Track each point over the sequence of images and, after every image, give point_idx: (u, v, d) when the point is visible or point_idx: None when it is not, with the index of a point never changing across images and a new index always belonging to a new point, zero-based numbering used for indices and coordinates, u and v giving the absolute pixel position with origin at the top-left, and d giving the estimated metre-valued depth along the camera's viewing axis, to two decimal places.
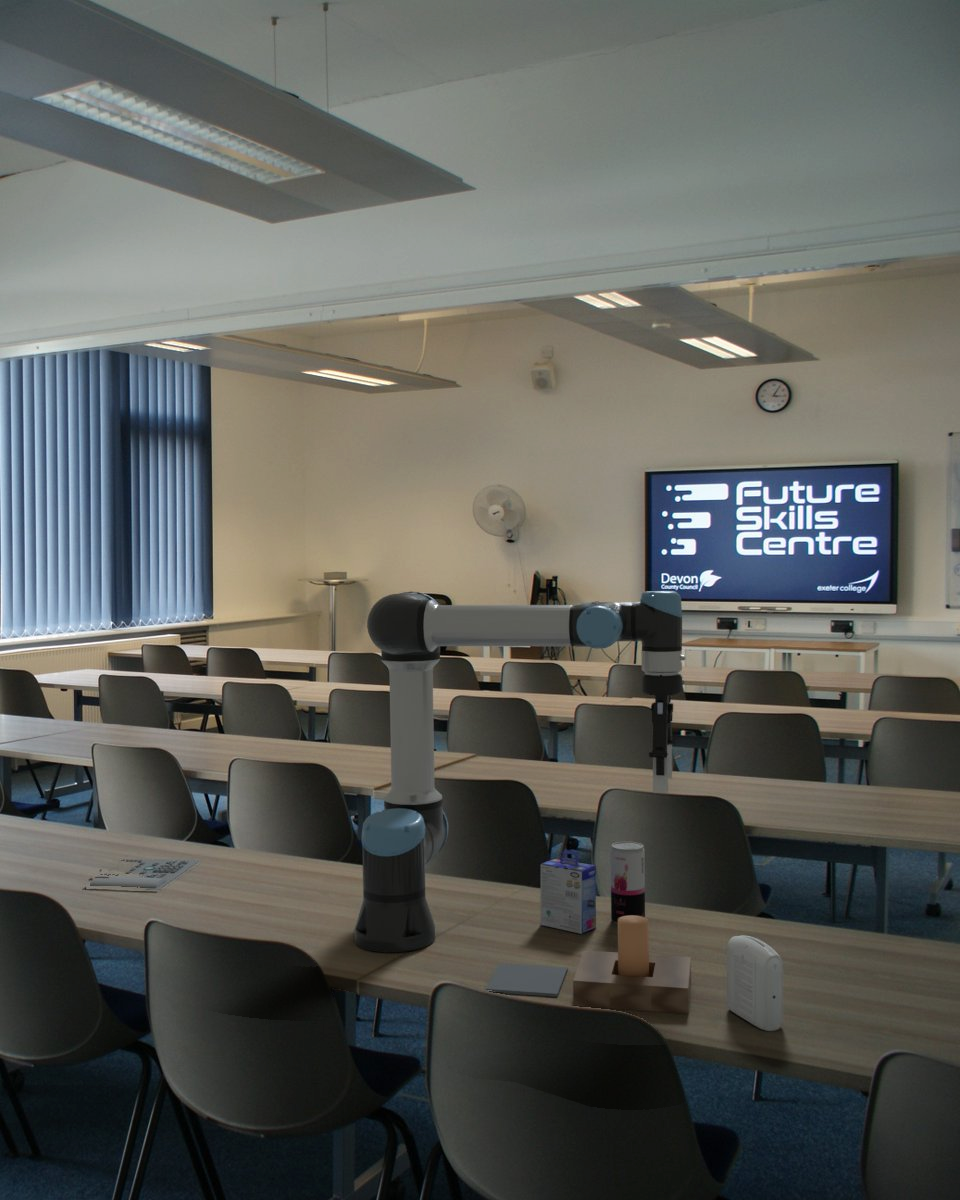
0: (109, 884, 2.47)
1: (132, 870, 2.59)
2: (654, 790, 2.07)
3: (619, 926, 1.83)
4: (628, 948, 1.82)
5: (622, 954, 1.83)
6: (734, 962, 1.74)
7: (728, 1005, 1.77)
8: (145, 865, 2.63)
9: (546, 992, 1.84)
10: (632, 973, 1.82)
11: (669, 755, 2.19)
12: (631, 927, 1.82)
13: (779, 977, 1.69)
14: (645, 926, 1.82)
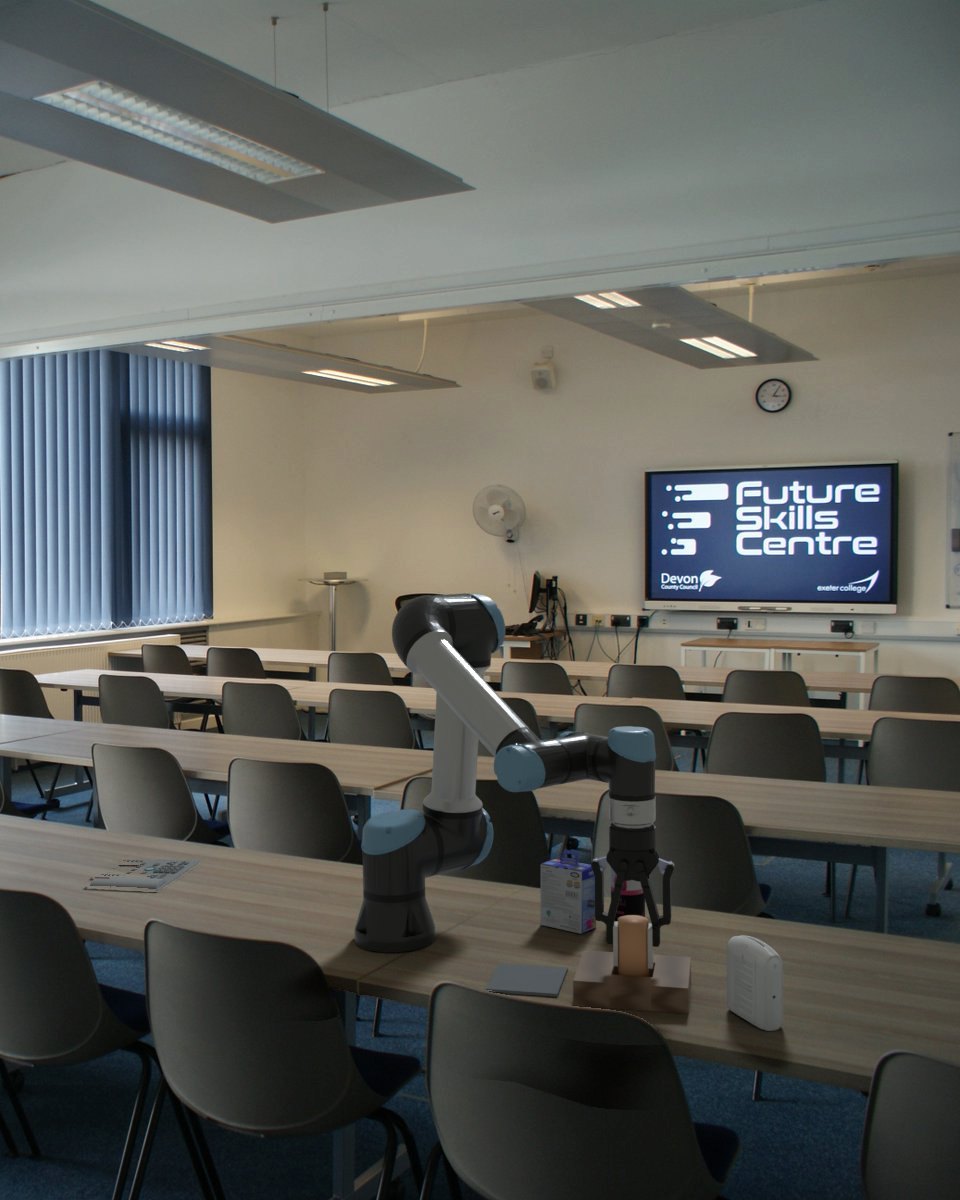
0: (109, 884, 2.47)
1: (133, 870, 2.59)
2: None
3: (619, 926, 1.83)
4: (628, 948, 1.82)
5: (622, 954, 1.83)
6: (734, 962, 1.75)
7: (728, 1005, 1.77)
8: (146, 865, 2.63)
9: (546, 992, 1.84)
10: (632, 973, 1.82)
11: None
12: (631, 926, 1.82)
13: (779, 977, 1.69)
14: (645, 926, 1.82)
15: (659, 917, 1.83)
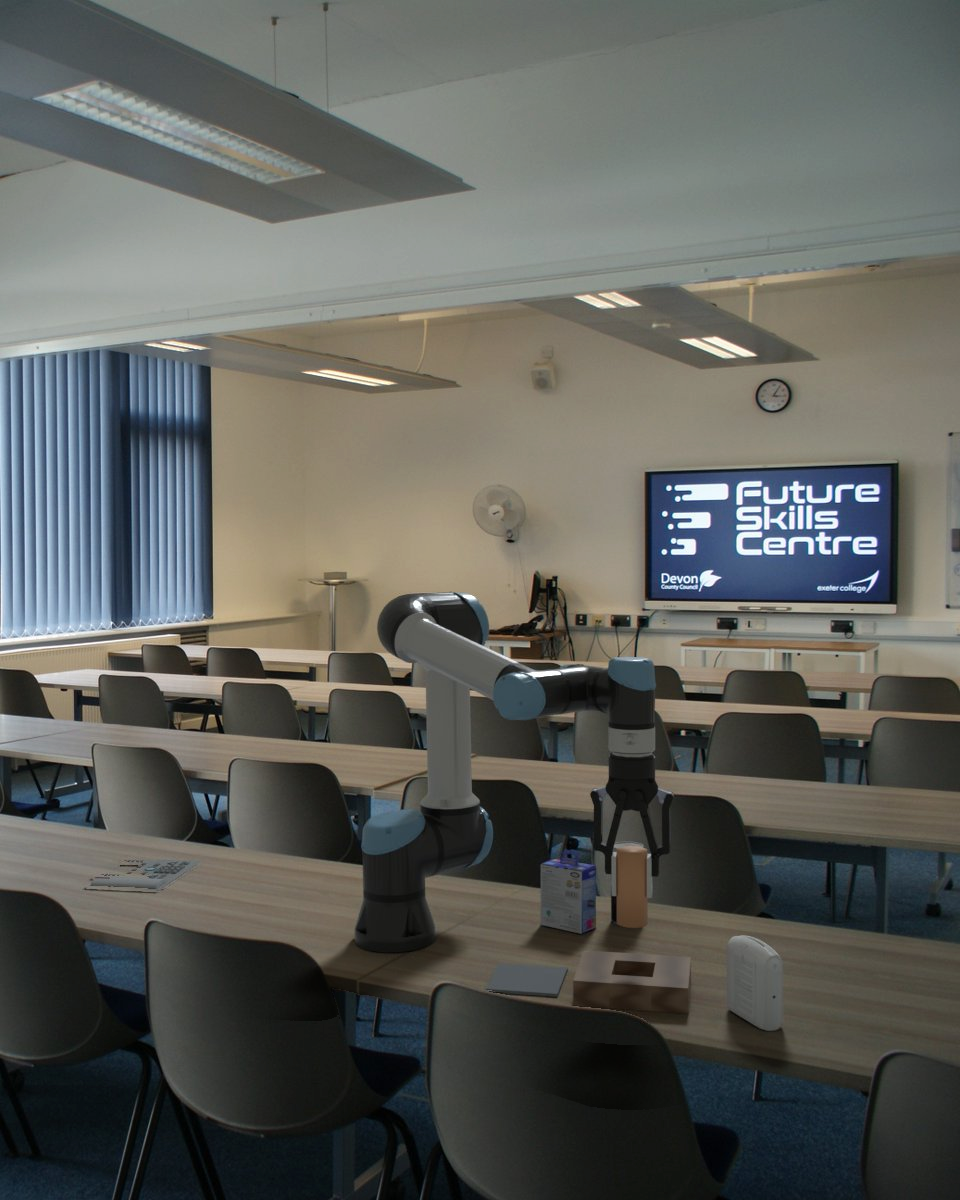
0: (109, 884, 2.47)
1: (133, 870, 2.59)
2: None
3: (618, 856, 1.83)
4: (627, 877, 1.82)
5: (621, 883, 1.83)
6: (734, 962, 1.75)
7: (728, 1005, 1.77)
8: (146, 866, 2.63)
9: (546, 992, 1.84)
10: (630, 903, 1.82)
11: None
12: (630, 856, 1.81)
13: (779, 977, 1.69)
14: (644, 856, 1.82)
15: (658, 847, 1.83)
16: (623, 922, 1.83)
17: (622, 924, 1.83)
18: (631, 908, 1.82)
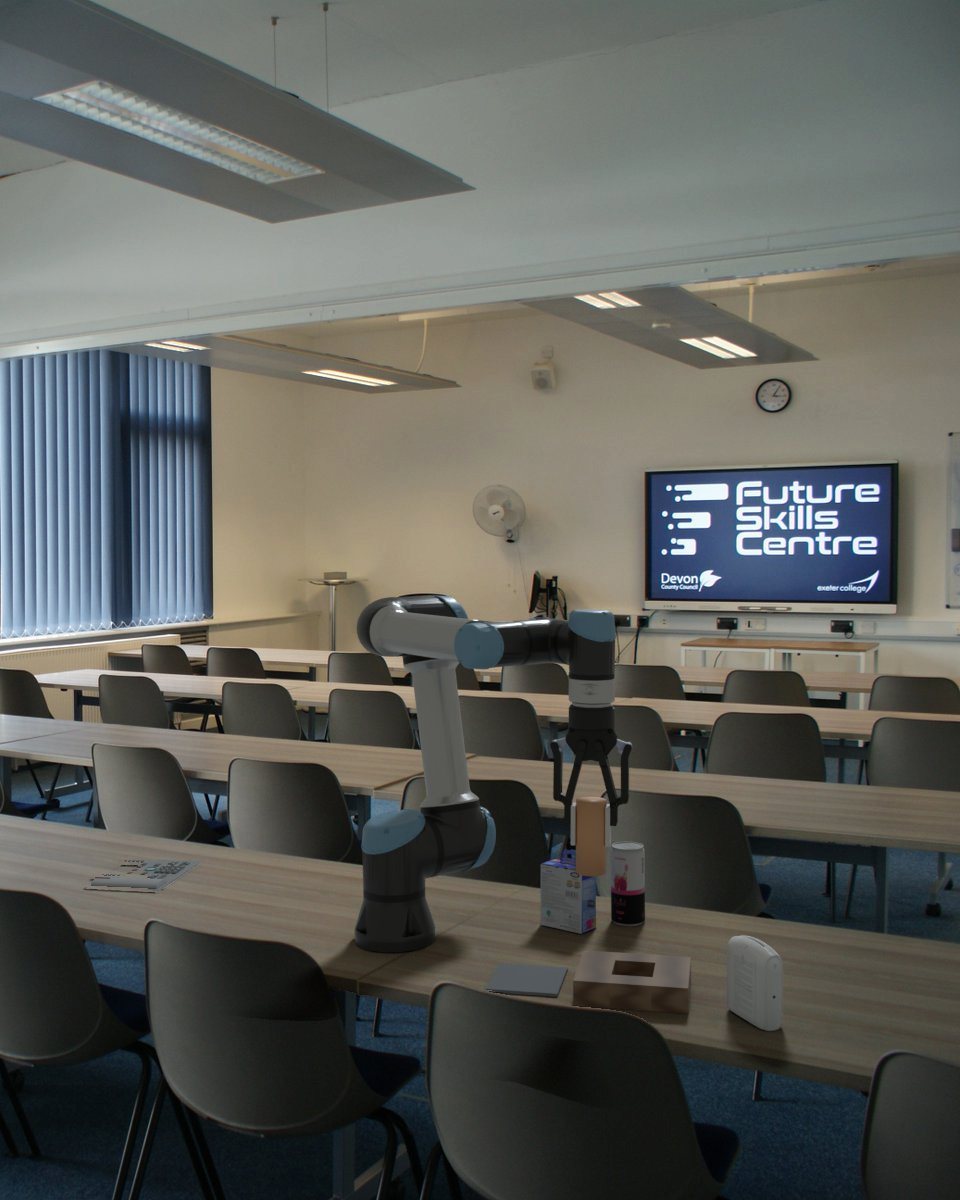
0: (109, 885, 2.47)
1: None
2: None
3: (577, 805, 1.85)
4: (586, 826, 1.84)
5: (580, 833, 1.85)
6: (734, 962, 1.74)
7: (728, 1005, 1.77)
8: (147, 866, 2.63)
9: (546, 992, 1.84)
10: (589, 851, 1.84)
11: (605, 819, 1.85)
12: (589, 805, 1.84)
13: (779, 977, 1.69)
14: (603, 805, 1.84)
15: (617, 797, 1.85)
16: (582, 871, 1.85)
17: (581, 873, 1.85)
18: (589, 856, 1.84)
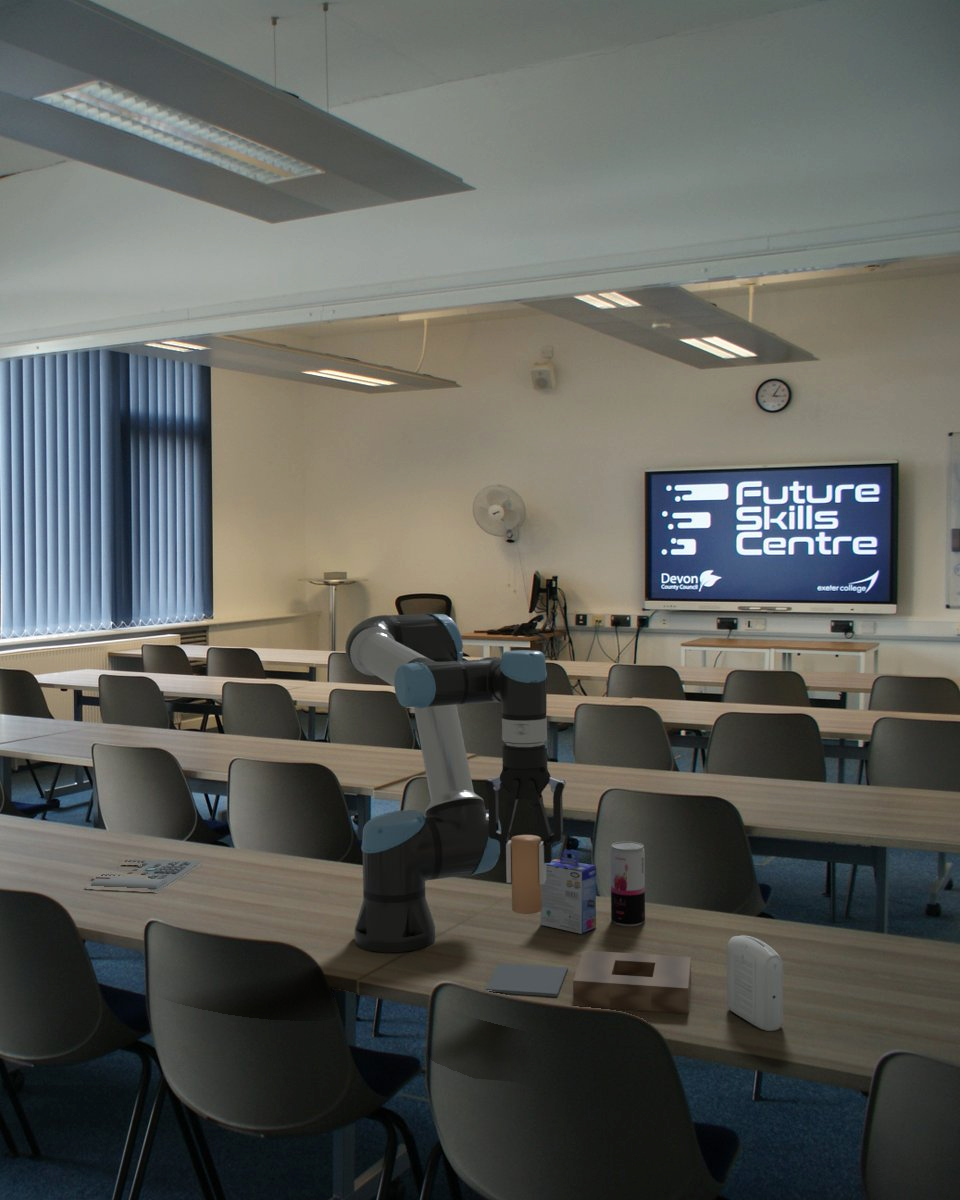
0: (110, 885, 2.47)
1: None
2: None
3: (512, 844, 1.89)
4: (520, 865, 1.87)
5: (515, 871, 1.88)
6: (734, 962, 1.75)
7: (728, 1005, 1.77)
8: (147, 866, 2.63)
9: (546, 992, 1.84)
10: (524, 889, 1.87)
11: None
12: (523, 844, 1.87)
13: (779, 977, 1.69)
14: (536, 843, 1.88)
15: (551, 834, 1.89)
16: (517, 908, 1.88)
17: (516, 910, 1.88)
18: (524, 894, 1.87)
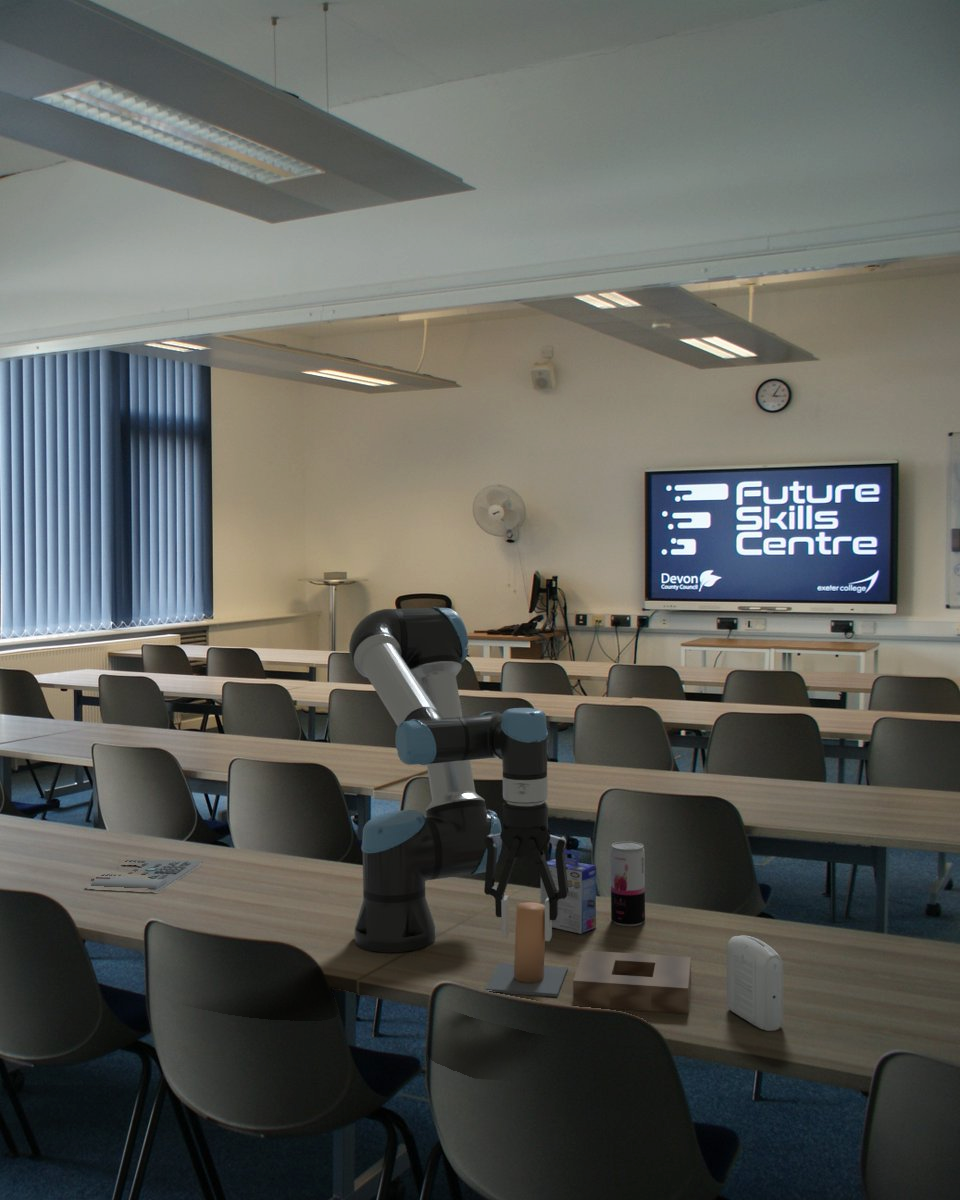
0: (110, 885, 2.47)
1: None
2: None
3: (517, 912, 1.89)
4: (524, 933, 1.88)
5: (518, 939, 1.89)
6: (734, 961, 1.74)
7: (728, 1005, 1.77)
8: (148, 866, 2.63)
9: (546, 992, 1.84)
10: (526, 958, 1.88)
11: None
12: (528, 913, 1.88)
13: (779, 977, 1.69)
14: (542, 913, 1.88)
15: (556, 891, 1.89)
16: (519, 976, 1.89)
17: (518, 978, 1.89)
18: (527, 963, 1.88)
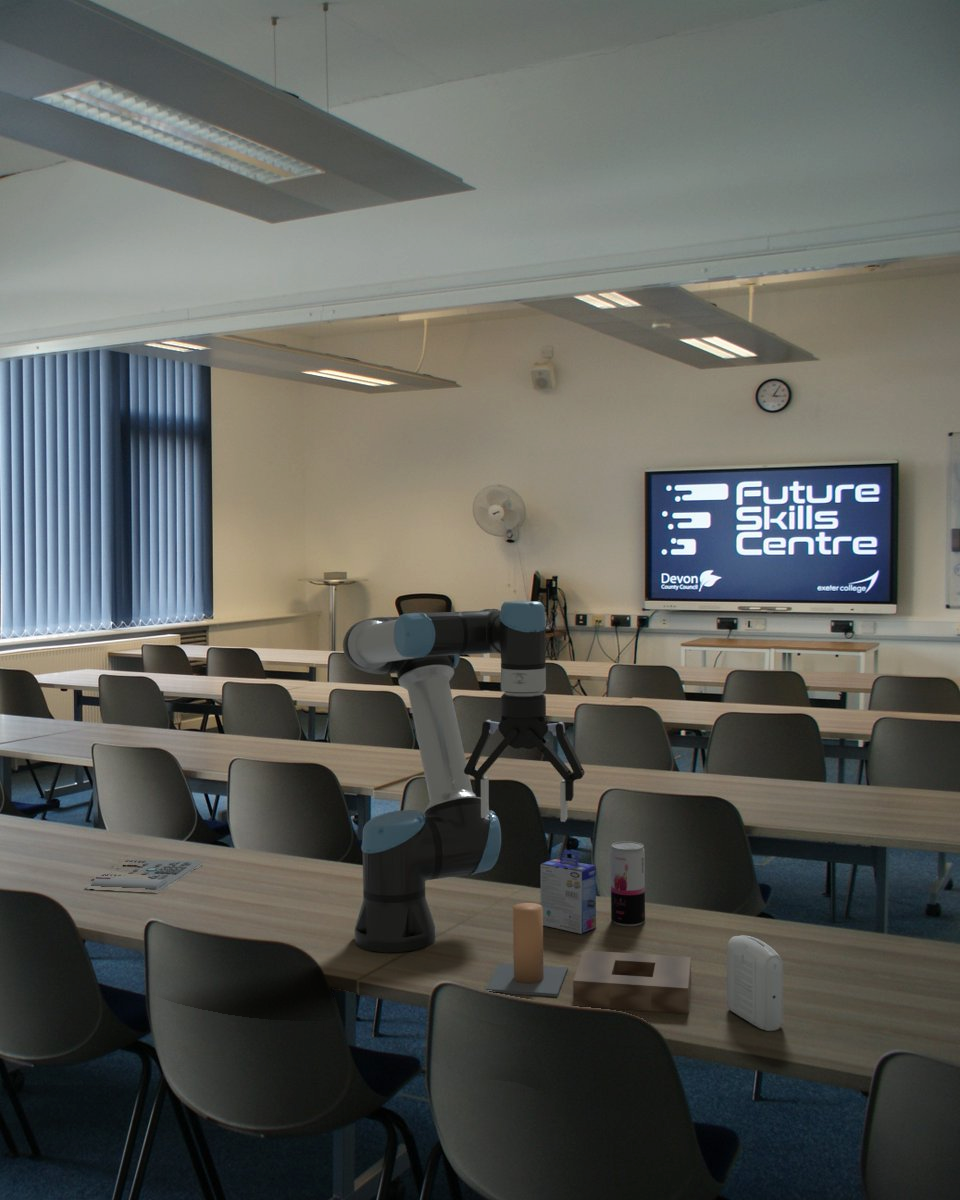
0: (110, 885, 2.47)
1: (135, 871, 2.58)
2: None
3: (513, 913, 1.89)
4: (522, 934, 1.88)
5: (516, 940, 1.89)
6: (734, 962, 1.75)
7: (728, 1005, 1.77)
8: (148, 866, 2.63)
9: (546, 992, 1.84)
10: (525, 959, 1.88)
11: None
12: (524, 913, 1.88)
13: (779, 977, 1.69)
14: (538, 913, 1.88)
15: (572, 772, 1.89)
16: (519, 977, 1.89)
17: (518, 979, 1.89)
18: (525, 964, 1.88)
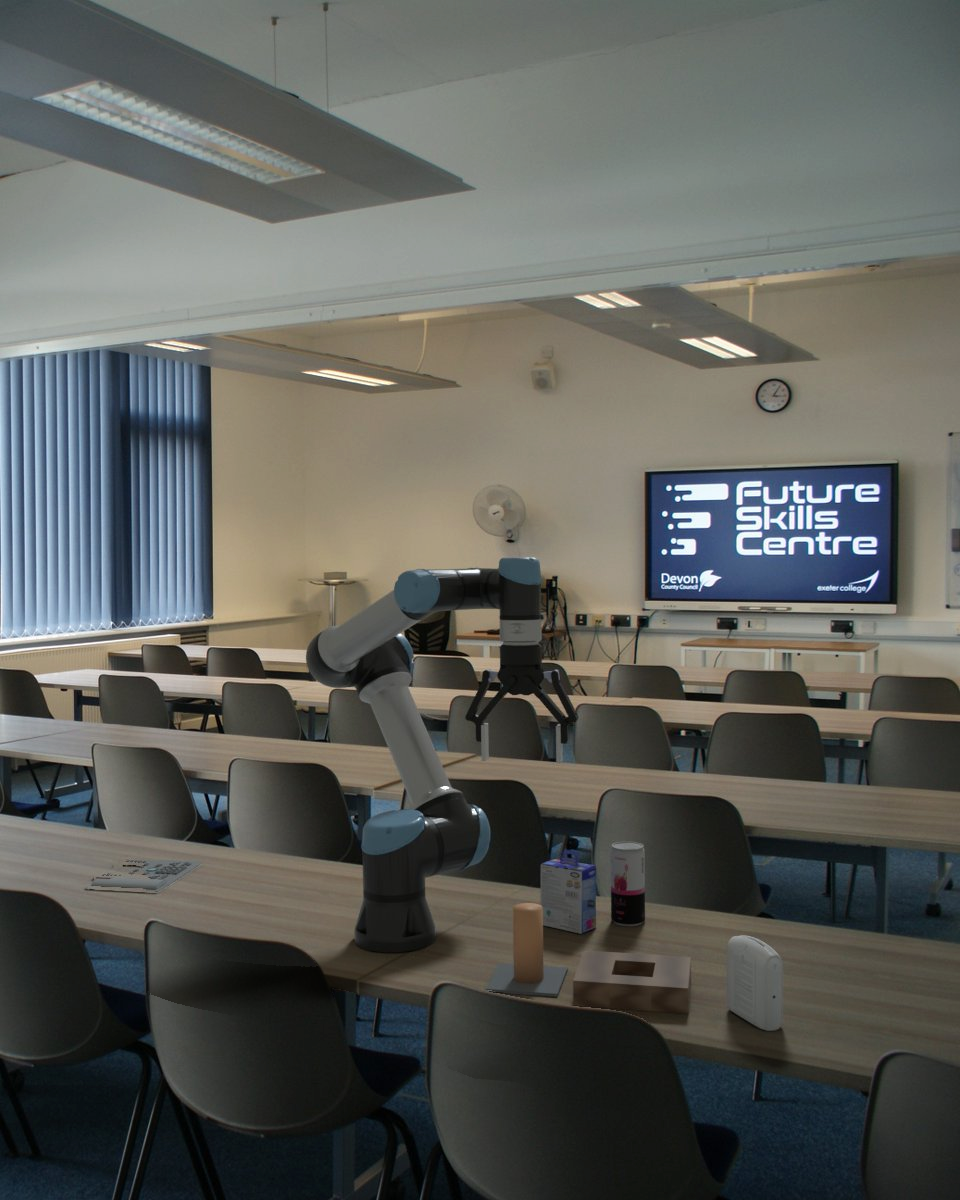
0: (110, 885, 2.47)
1: (135, 871, 2.58)
2: None
3: (513, 913, 1.89)
4: (522, 934, 1.88)
5: (516, 940, 1.89)
6: (734, 961, 1.75)
7: (728, 1005, 1.77)
8: (149, 866, 2.63)
9: (546, 992, 1.84)
10: (525, 959, 1.88)
11: None
12: (524, 914, 1.88)
13: (779, 977, 1.69)
14: (538, 913, 1.88)
15: (567, 717, 2.01)
16: (519, 978, 1.89)
17: (518, 979, 1.89)
18: (525, 964, 1.88)
